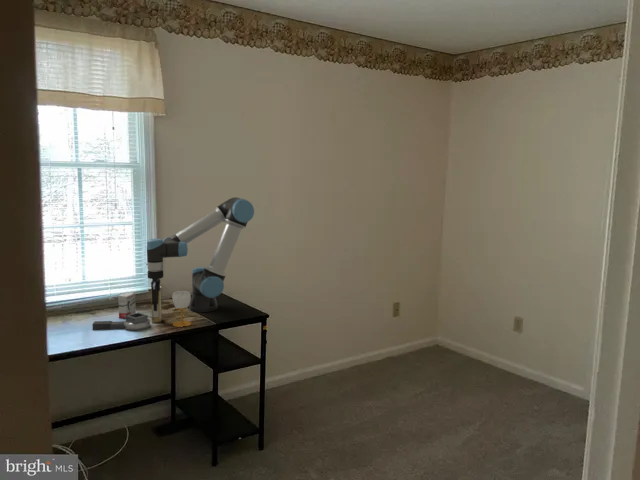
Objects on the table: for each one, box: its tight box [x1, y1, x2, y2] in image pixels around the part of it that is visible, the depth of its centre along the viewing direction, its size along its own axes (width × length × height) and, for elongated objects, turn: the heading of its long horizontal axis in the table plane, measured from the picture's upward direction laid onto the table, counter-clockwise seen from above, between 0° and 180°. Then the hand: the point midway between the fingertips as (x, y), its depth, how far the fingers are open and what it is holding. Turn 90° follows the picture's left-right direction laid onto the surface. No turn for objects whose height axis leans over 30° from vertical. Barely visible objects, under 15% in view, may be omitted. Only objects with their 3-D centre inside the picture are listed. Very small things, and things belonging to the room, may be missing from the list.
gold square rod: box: [150, 288, 162, 323], centre depth 270 cm, size 4×4×16 cm
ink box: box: [117, 291, 137, 319], centre depth 278 cm, size 9×5×12 cm, turn 168°
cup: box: [171, 290, 192, 328], centre depth 266 cm, size 9×9×16 cm
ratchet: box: [91, 311, 151, 332], centre depth 260 cm, size 26×12×6 cm, turn 99°
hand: (156, 315), depth 271 cm, fingers open, 4 cm apart
